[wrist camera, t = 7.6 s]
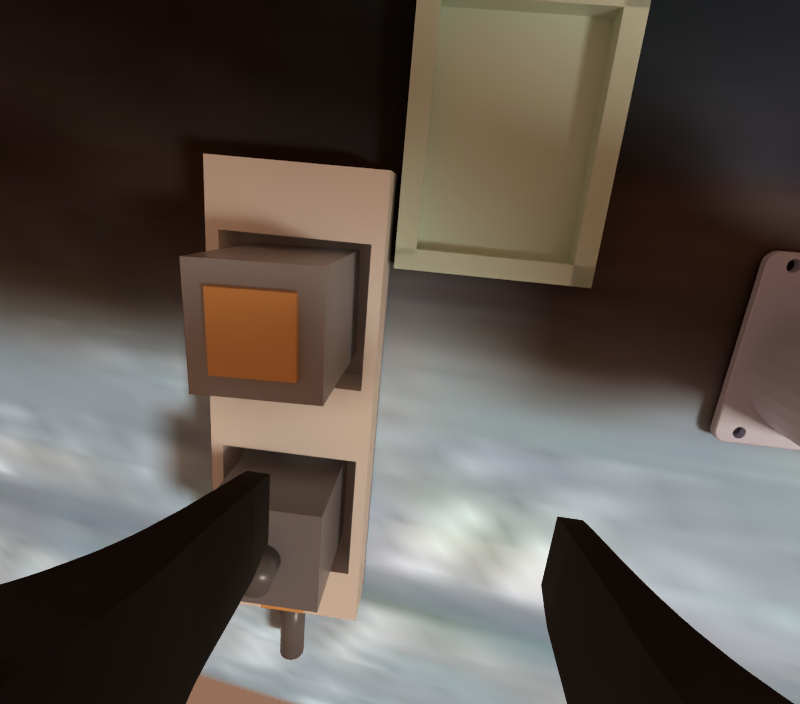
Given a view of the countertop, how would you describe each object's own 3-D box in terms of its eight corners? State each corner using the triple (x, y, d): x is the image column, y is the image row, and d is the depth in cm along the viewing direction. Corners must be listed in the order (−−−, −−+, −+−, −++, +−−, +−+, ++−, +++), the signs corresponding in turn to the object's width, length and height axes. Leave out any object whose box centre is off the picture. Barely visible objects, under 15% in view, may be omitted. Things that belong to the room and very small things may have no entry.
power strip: (397, 174, 19) (389, 169, 16) (358, 642, 26) (348, 693, 23) (231, 159, 20) (196, 152, 17) (237, 624, 27) (213, 672, 24)
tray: (638, -3, 17) (655, -21, 15) (581, 282, 20) (591, 288, 18) (421, -17, 17) (419, -36, 16) (397, 264, 20) (393, 268, 19)
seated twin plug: (347, 451, 22) (313, 538, 16) (343, 531, 24) (309, 638, 18) (256, 440, 23) (189, 521, 17) (255, 519, 24) (194, 621, 18)
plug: (359, 250, 20) (323, 268, 14) (356, 352, 21) (320, 409, 15) (255, 242, 20) (174, 257, 14) (257, 344, 21) (185, 396, 15)
